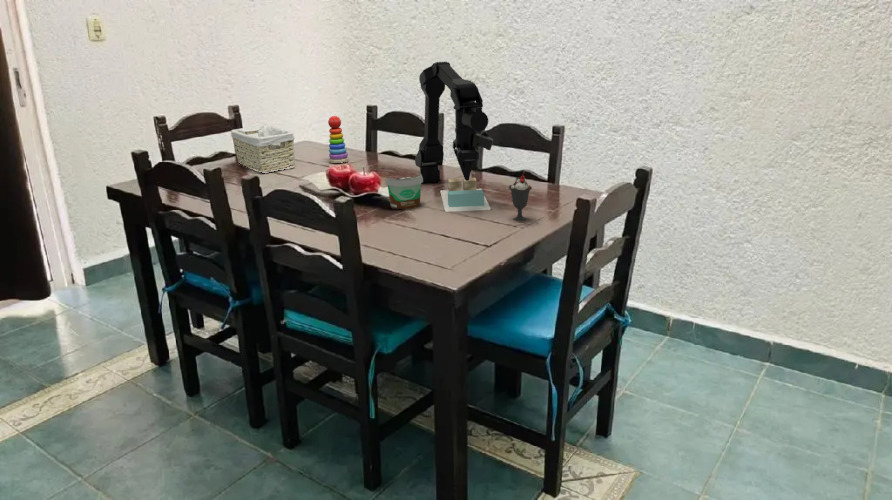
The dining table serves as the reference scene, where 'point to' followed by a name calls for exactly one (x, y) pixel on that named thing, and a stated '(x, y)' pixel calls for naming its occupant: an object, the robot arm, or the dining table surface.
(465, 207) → the build mat
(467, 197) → the lintel
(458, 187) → the post
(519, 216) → the sundae
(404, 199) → the food container
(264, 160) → the storage basket
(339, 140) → the stacking toy
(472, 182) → the post
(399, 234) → the dining table surface
